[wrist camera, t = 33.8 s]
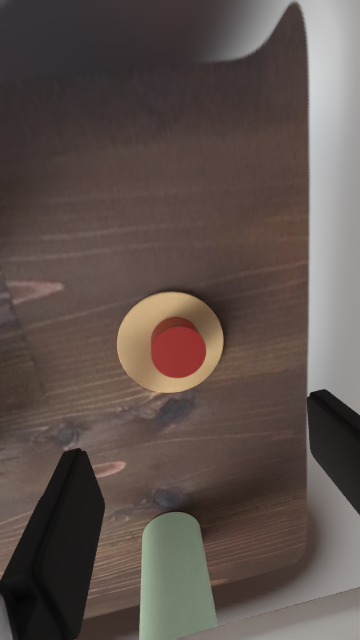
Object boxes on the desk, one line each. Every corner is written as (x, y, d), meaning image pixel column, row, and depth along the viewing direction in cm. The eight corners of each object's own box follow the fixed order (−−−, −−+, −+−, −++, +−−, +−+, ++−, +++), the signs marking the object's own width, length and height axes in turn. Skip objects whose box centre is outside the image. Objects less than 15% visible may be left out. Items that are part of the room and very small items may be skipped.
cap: (159, 310, 19) (160, 319, 17) (205, 324, 20) (214, 335, 18) (144, 355, 20) (143, 371, 18) (189, 367, 21) (195, 383, 18)
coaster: (241, 326, 21) (244, 328, 21) (184, 405, 23) (185, 408, 22) (154, 269, 19) (154, 270, 19) (97, 359, 21) (96, 362, 20)
